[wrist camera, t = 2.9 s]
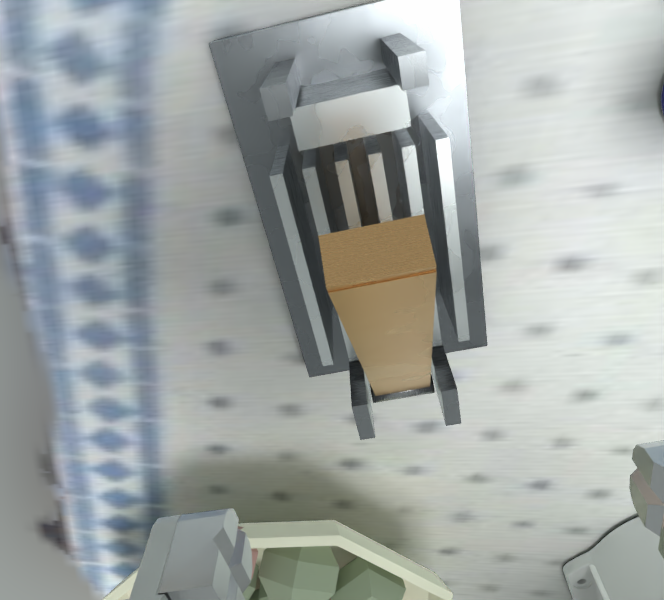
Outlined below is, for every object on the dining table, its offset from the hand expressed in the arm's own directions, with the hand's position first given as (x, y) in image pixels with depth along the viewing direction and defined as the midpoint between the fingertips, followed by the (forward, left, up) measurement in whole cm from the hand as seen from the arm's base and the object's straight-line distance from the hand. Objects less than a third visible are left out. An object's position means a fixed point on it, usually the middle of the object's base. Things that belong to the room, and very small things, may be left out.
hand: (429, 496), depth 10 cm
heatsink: (-3, 0, -23) cm, 23 cm away
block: (-4, 0, -12) cm, 13 cm away
